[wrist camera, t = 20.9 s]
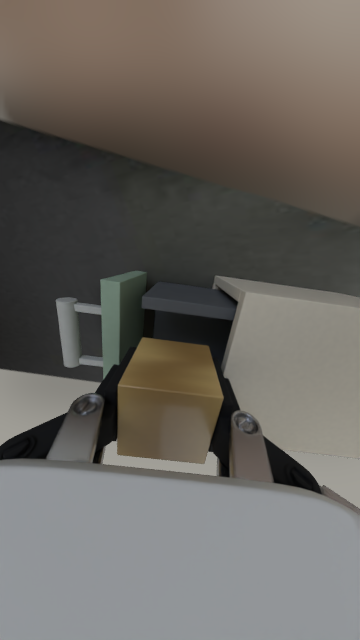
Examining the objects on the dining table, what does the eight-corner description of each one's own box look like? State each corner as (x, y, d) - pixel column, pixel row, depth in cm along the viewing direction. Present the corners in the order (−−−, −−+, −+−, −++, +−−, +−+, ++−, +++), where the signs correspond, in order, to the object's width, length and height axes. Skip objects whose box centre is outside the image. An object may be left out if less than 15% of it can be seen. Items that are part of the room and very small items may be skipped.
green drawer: (94, 354, 21) (46, 406, 14) (89, 264, 17) (19, 268, 10) (232, 372, 21) (258, 432, 14) (258, 288, 18) (311, 309, 10)
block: (209, 345, 11) (224, 398, 7) (197, 396, 12) (204, 465, 8) (142, 336, 11) (116, 385, 7) (138, 389, 12) (116, 455, 8)
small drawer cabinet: (196, 367, 22) (204, 441, 13) (214, 275, 18) (246, 291, 9) (298, 380, 23) (373, 461, 14) (339, 293, 18) (489, 326, 9)
